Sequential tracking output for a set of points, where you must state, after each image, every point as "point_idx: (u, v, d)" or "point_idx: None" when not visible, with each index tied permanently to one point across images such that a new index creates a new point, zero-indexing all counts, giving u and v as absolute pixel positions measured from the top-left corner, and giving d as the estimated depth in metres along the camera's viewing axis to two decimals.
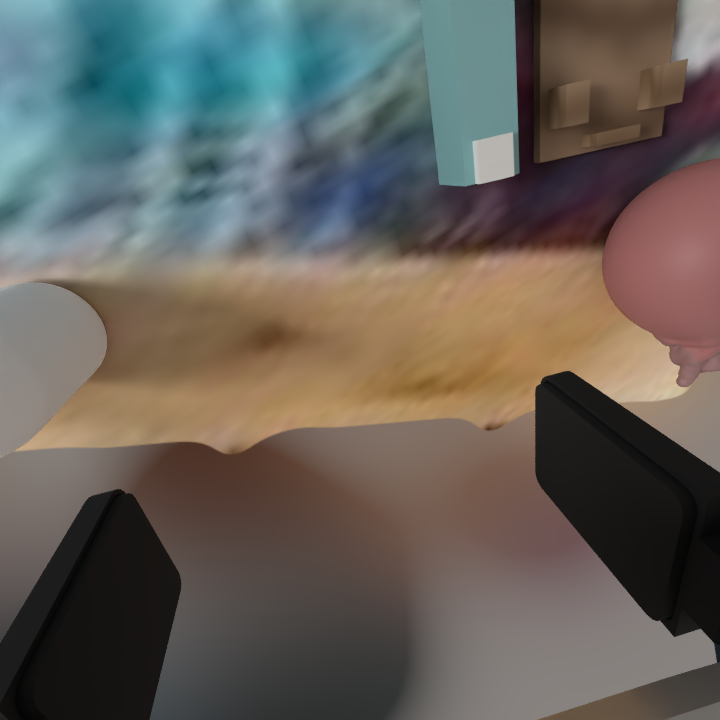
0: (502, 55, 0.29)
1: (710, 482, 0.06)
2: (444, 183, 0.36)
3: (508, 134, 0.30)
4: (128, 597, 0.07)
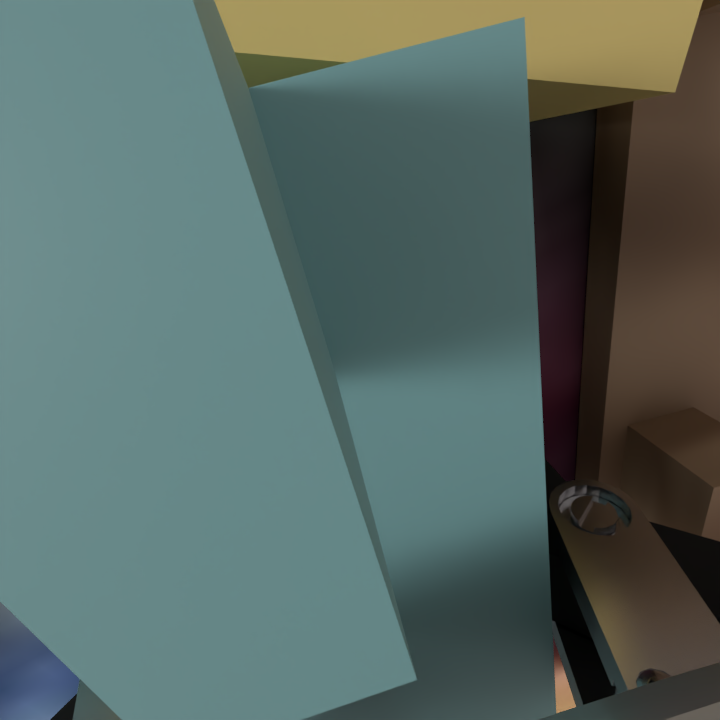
0: (477, 618, 0.05)
1: None
2: None
3: None
4: None
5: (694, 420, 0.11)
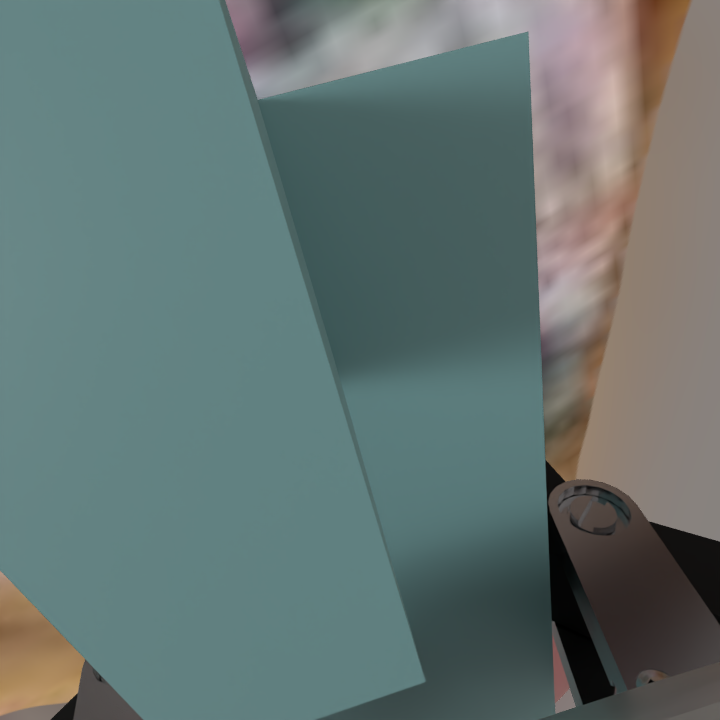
0: (477, 621, 0.05)
1: None
2: None
3: None
4: None
5: None
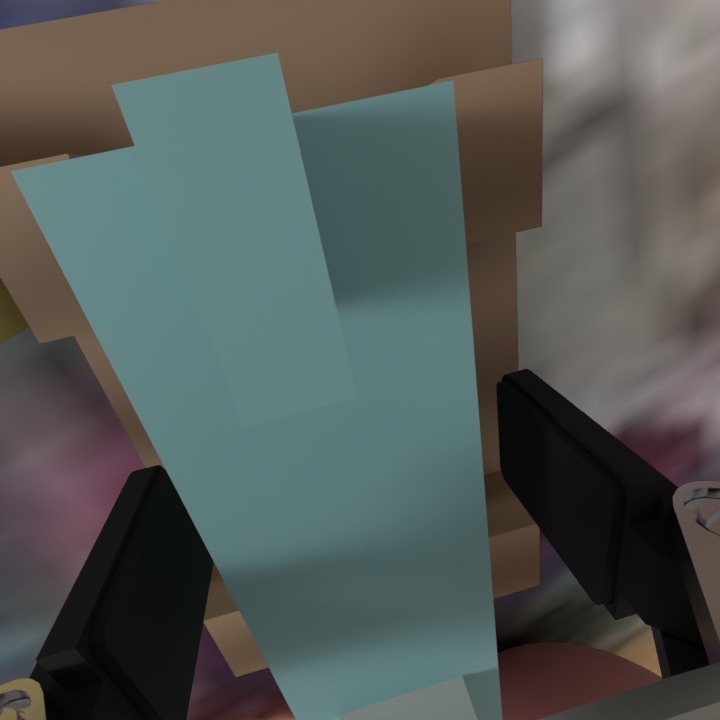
0: (428, 521, 0.07)
1: (637, 472, 0.06)
2: None
3: None
4: (172, 563, 0.08)
5: None
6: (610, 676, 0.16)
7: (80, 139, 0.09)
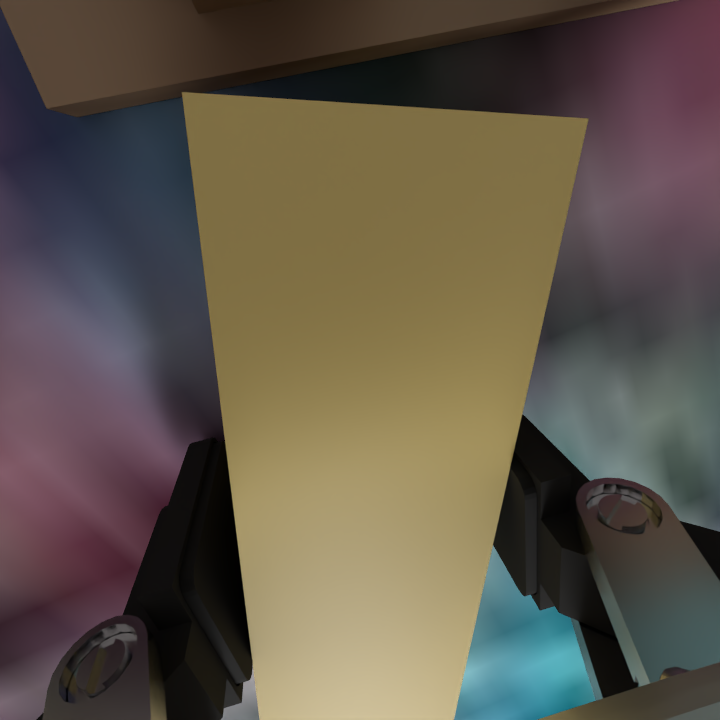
0: None
1: (547, 469, 0.06)
2: None
3: None
4: (232, 527, 0.08)
5: None
6: None
7: None
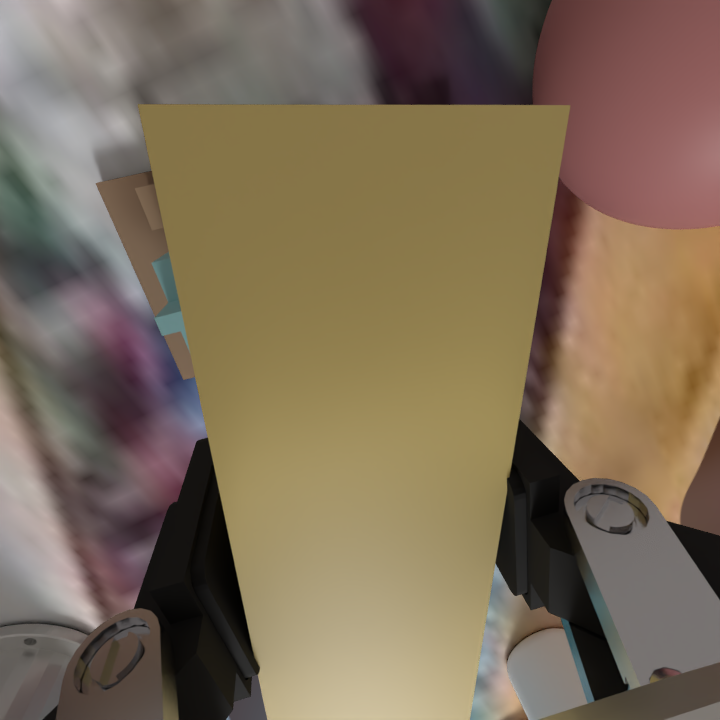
0: None
1: (536, 469, 0.07)
2: None
3: None
4: None
5: None
6: (540, 34, 0.20)
7: None
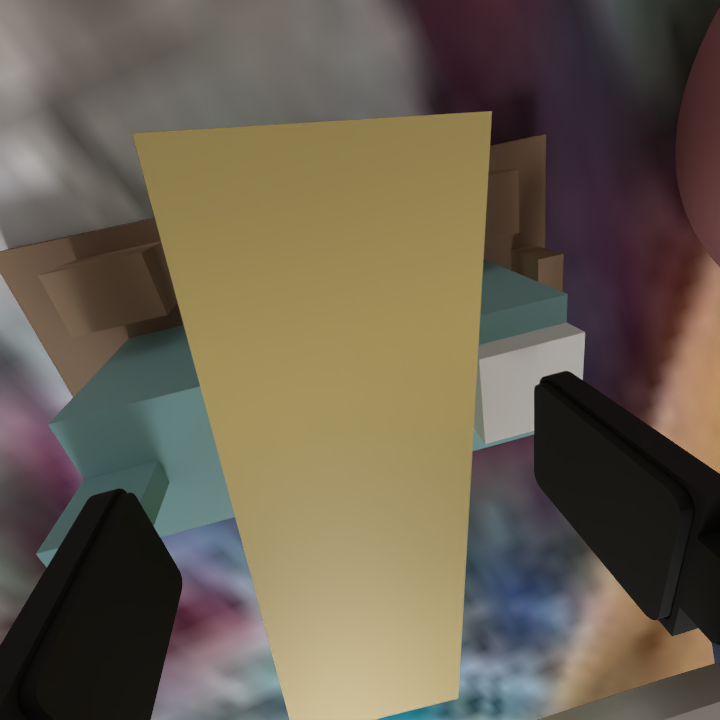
0: None
1: (707, 482, 0.06)
2: None
3: (483, 370, 0.11)
4: (130, 596, 0.07)
5: None
6: (718, 28, 0.12)
7: None
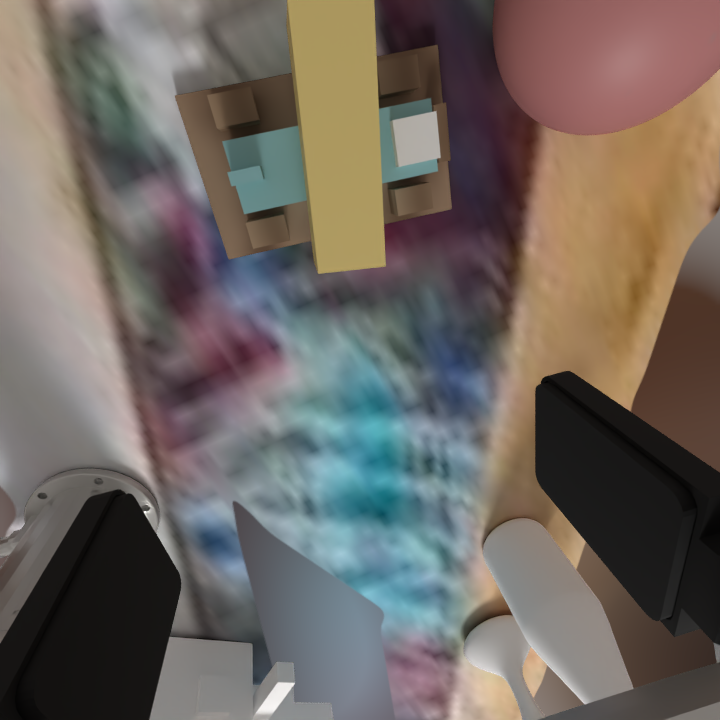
0: None
1: (710, 482, 0.06)
2: None
3: (394, 126, 0.27)
4: (128, 597, 0.07)
5: (389, 195, 0.34)
6: None
7: (244, 228, 0.34)
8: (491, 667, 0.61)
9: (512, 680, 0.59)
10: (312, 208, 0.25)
